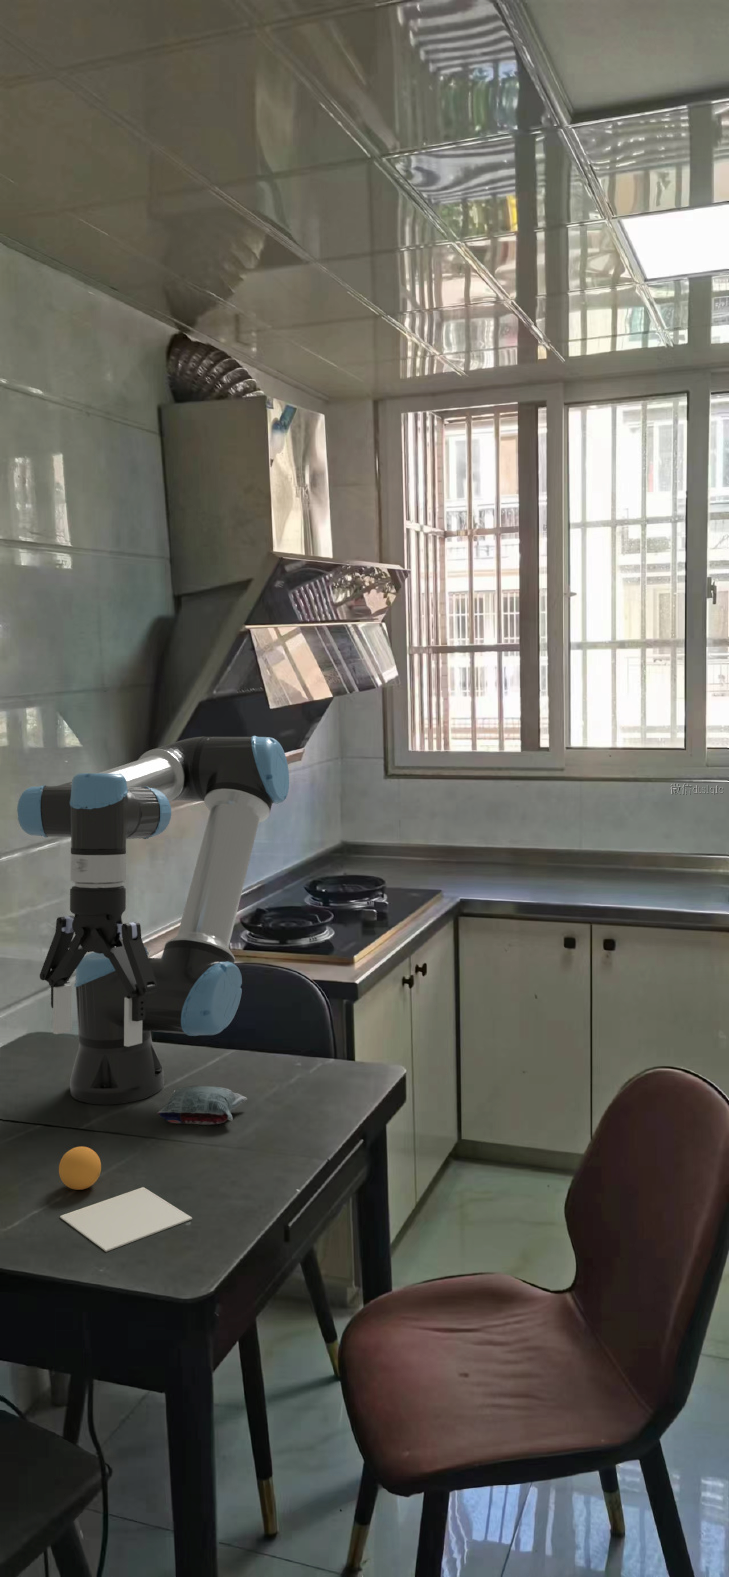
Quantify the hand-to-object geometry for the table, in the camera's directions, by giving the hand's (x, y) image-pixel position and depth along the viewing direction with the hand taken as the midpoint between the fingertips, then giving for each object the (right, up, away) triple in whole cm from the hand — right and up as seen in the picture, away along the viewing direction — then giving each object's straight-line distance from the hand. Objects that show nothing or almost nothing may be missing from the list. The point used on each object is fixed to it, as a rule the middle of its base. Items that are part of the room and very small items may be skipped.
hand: (96, 1038), depth 163 cm
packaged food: (+12, -16, +18) cm, 28 cm away
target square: (+7, -20, -14) cm, 25 cm away
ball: (-1, -16, -6) cm, 17 cm away
